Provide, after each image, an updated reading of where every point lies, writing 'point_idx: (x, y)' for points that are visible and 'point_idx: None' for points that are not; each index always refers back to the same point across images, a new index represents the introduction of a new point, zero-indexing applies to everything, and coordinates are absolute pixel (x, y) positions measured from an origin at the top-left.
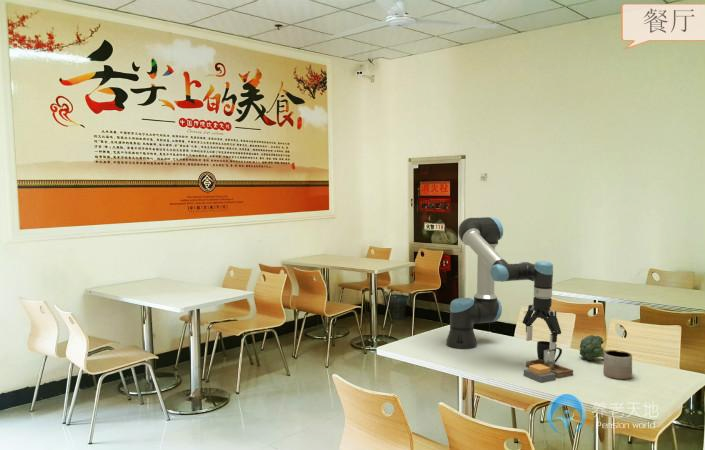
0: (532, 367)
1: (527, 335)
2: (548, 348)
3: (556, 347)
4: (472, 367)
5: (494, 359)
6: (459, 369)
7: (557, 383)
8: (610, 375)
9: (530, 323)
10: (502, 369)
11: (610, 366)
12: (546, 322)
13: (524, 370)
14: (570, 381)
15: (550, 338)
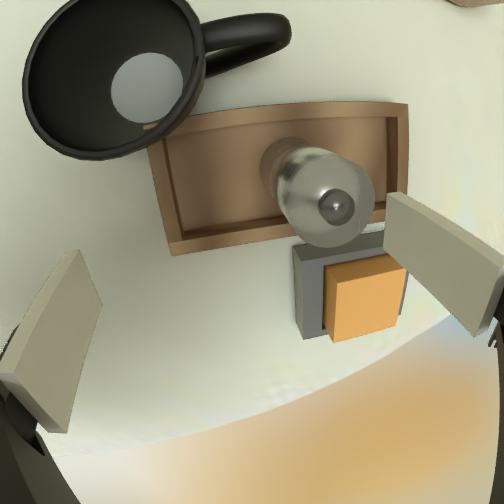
0: (355, 336)
1: (85, 343)
2: (194, 101)
3: (231, 30)
4: (150, 415)
5: None
6: (166, 439)
7: None
8: (467, 5)
9: (36, 453)
10: (193, 356)
11: (495, 1)
12: (500, 480)
13: (307, 336)
14: (435, 182)
15: (452, 306)
